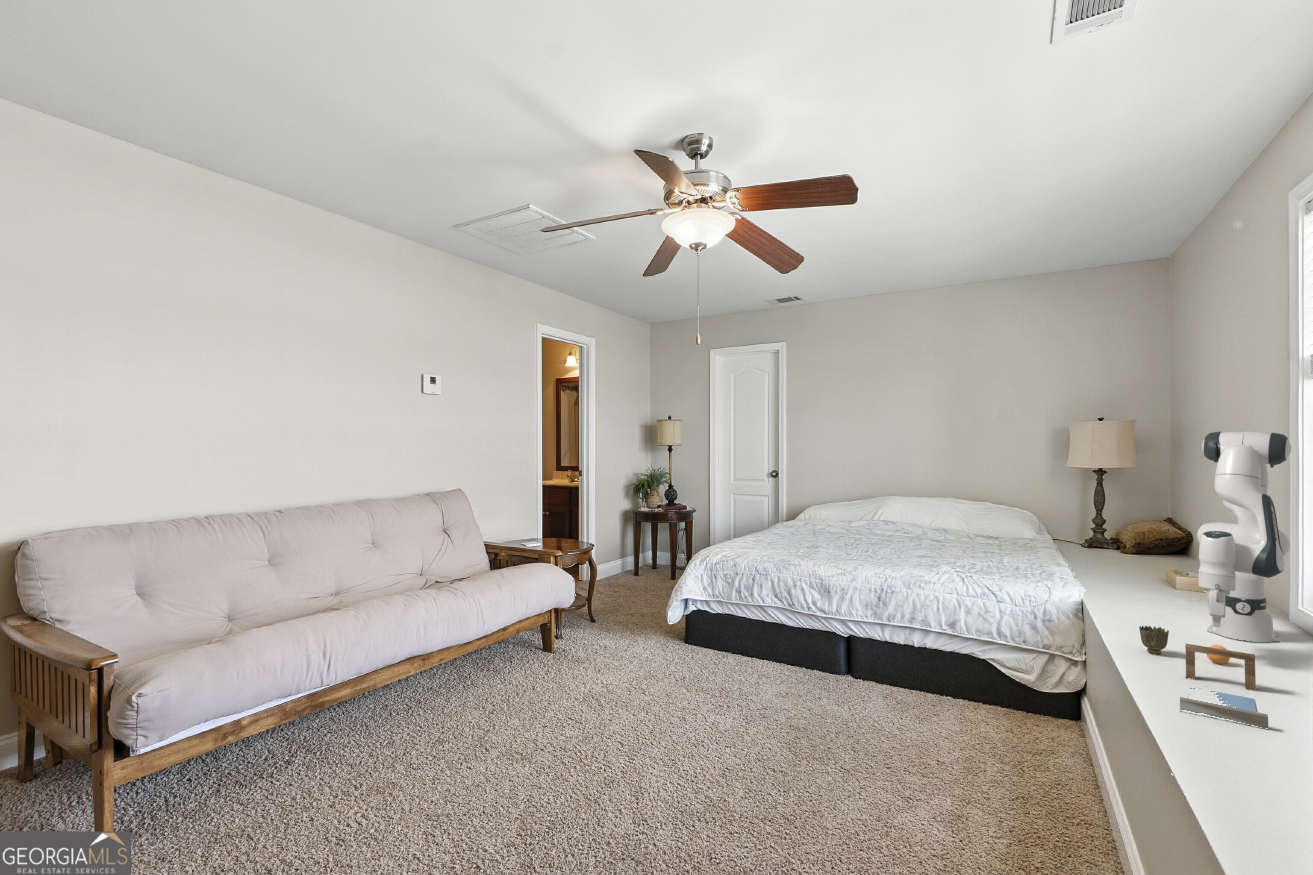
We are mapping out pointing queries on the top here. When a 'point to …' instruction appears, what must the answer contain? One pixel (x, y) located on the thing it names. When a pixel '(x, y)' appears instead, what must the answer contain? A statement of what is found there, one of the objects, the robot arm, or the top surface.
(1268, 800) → the top surface
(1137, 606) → the top surface
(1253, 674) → the bridge
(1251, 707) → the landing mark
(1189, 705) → the wall
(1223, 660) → the ball
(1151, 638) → the cup
